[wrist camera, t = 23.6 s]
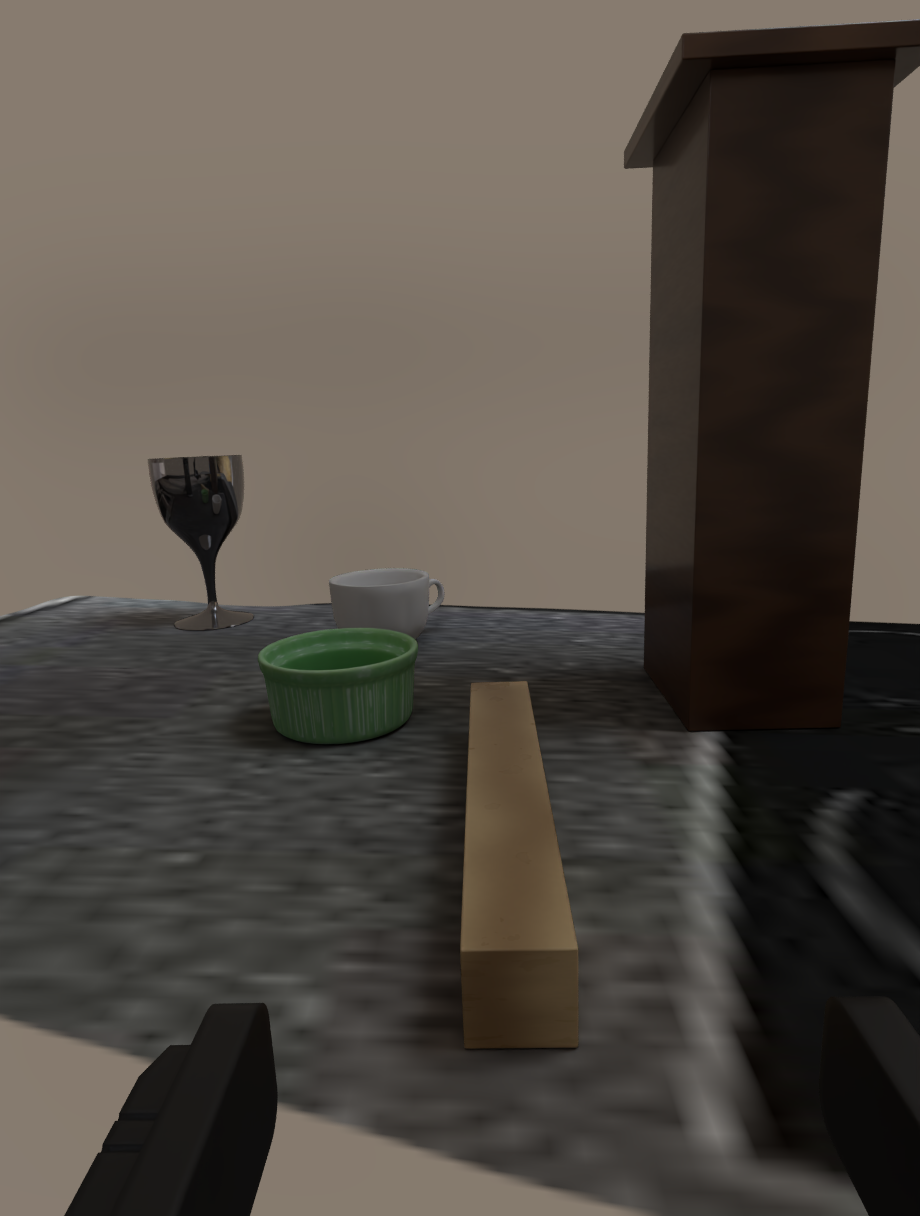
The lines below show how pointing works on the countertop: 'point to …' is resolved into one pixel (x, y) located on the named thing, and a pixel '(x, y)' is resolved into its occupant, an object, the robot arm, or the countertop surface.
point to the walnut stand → (761, 360)
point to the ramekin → (340, 684)
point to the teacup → (384, 599)
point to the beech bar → (513, 886)
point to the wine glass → (201, 519)
